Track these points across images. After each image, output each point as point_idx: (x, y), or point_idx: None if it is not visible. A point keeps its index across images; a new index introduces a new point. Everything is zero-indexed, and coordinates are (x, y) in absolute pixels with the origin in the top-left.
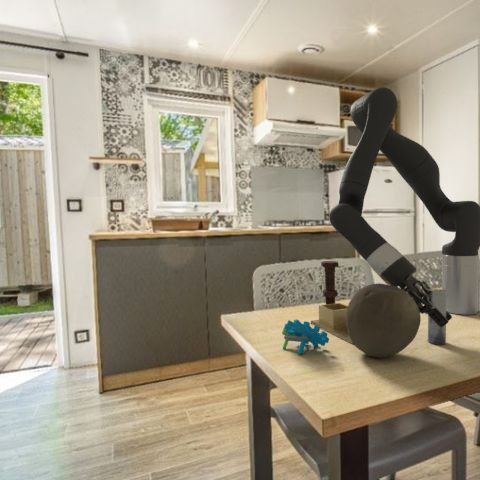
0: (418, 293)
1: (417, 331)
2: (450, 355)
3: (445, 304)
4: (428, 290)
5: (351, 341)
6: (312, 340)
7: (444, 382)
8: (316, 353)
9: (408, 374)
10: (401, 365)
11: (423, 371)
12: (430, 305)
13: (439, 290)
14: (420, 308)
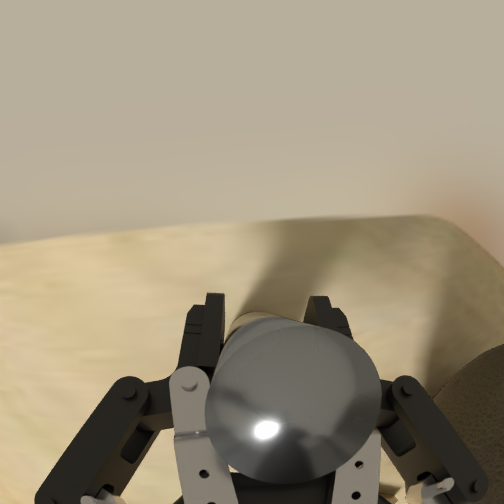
0: (378, 493)
1: (500, 345)
2: (362, 280)
3: (294, 320)
4: (329, 472)
5: (394, 501)
6: None
7: (492, 264)
8: None
9: (494, 327)
10: (470, 357)
11: (476, 310)
12: (406, 383)
13: (287, 396)
14: (392, 424)
